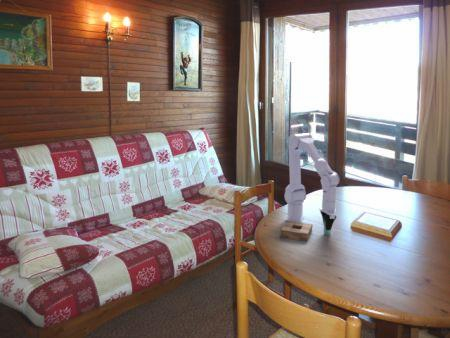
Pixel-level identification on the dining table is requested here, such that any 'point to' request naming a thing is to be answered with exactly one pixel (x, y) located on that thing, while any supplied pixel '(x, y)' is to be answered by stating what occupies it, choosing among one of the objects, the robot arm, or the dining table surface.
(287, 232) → the socket block
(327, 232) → the peg
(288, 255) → the dining table surface
